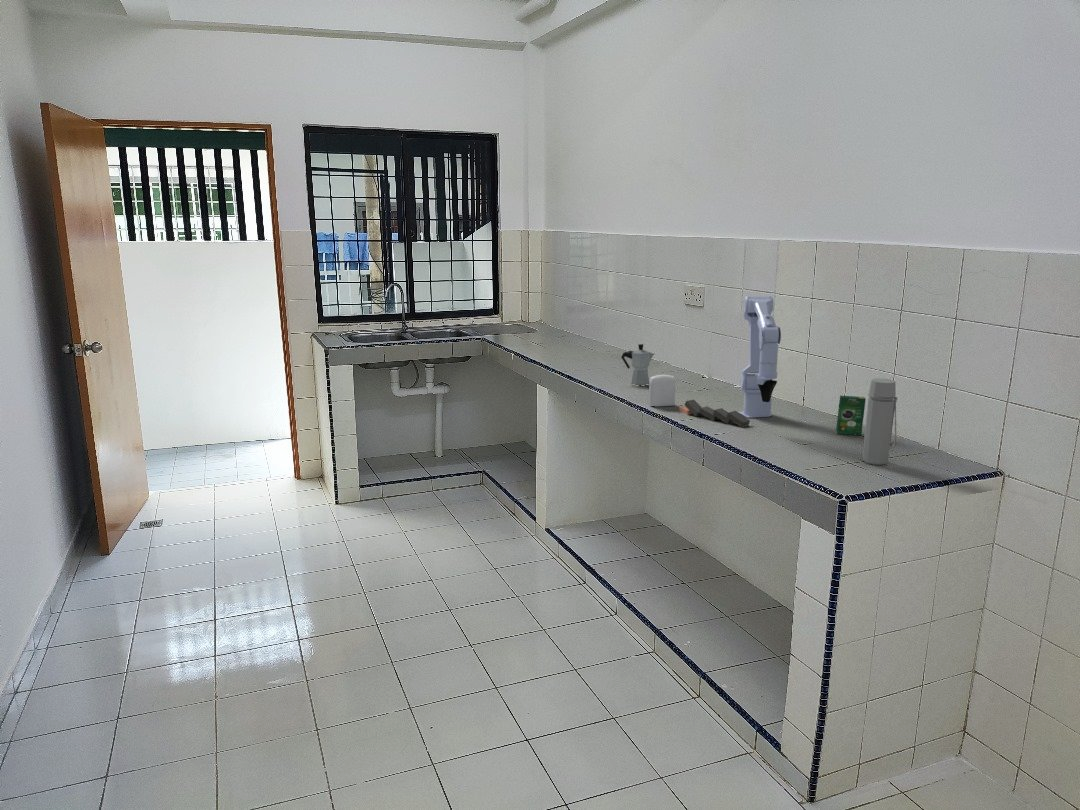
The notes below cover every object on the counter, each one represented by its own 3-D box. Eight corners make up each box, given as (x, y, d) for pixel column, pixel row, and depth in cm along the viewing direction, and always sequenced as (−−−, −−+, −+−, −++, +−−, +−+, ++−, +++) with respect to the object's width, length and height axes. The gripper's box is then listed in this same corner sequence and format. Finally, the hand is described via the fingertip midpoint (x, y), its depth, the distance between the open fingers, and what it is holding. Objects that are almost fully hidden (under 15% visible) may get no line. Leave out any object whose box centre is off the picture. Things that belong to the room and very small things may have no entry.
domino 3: (736, 417, 276) (721, 408, 281) (729, 419, 274) (714, 409, 278) (734, 422, 277) (720, 412, 281) (727, 424, 275) (712, 414, 279)
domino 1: (705, 411, 286) (693, 399, 290) (697, 412, 284) (686, 400, 288) (703, 415, 287) (692, 403, 291) (695, 416, 285) (684, 405, 289)
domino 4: (750, 420, 272) (735, 410, 276) (743, 422, 269) (728, 412, 274) (748, 425, 273) (733, 415, 277) (741, 427, 270) (726, 417, 275)
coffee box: (861, 433, 261) (864, 395, 258) (862, 435, 258) (866, 397, 255) (835, 432, 262) (838, 394, 259) (837, 434, 260) (840, 396, 257)
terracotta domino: (697, 410, 289) (688, 406, 295) (687, 410, 288) (678, 406, 294) (696, 415, 289) (688, 411, 296) (687, 416, 288) (678, 411, 295)
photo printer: (650, 407, 300) (651, 376, 297) (647, 404, 304) (648, 374, 301) (676, 406, 301) (677, 375, 298) (673, 404, 305) (674, 373, 302)
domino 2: (721, 414, 281) (707, 406, 285) (714, 416, 278) (700, 407, 283) (720, 419, 281) (706, 411, 286) (713, 421, 279) (699, 412, 284)
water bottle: (868, 466, 226) (876, 383, 220) (857, 458, 234) (864, 378, 228) (899, 466, 226) (908, 383, 220) (887, 458, 234) (895, 377, 228)
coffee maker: (654, 382, 346) (655, 342, 342) (655, 386, 337) (655, 345, 333) (620, 382, 347) (621, 342, 343) (620, 386, 339) (621, 345, 335)
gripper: (764, 358, 267) (761, 396, 271) (749, 364, 256) (746, 404, 259) (784, 360, 263) (781, 398, 267) (769, 366, 252) (767, 406, 255)
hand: (765, 401), depth 263 cm, fingers closed
